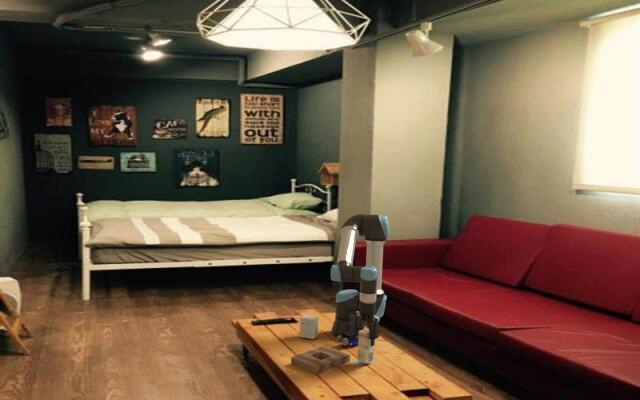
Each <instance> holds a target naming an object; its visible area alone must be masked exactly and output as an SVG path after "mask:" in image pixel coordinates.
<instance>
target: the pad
mask: <svg viewBox="0 0 640 400" xmlns="http://www.w3.org/2000/svg"><path fill="white" fill-rule="evenodd" d="M377 363H378V362H376V361H374V360H373V361H371V362H369V363H363V362H360V361H358V359H357V360H354V361H350V364H352V365H354V366H356V365H357V366H359V365H367V364H369V365H370V364H377Z"/></svg>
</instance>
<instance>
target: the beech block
mask: <svg viewBox="0 0 640 400" xmlns="http://www.w3.org/2000/svg"><path fill="white" fill-rule="evenodd" d="M369 339H370V334H369V328H368V329H367V328H364V329H363V330H360V331H359V336H358V343H357V360H358V361H360V362H363V363H369V362H371V361H374V351H373V352H372V353H368V343H369ZM374 347H375V345H374V346H373V348H374Z"/></svg>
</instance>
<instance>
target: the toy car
mask: <svg viewBox="0 0 640 400" xmlns="http://www.w3.org/2000/svg"><path fill="white" fill-rule="evenodd" d="M354 330H355V329H353V330H349V331H346V332H342V336H338V337H336V339H335V341H336V343H339V344H341V345H340V346H341V347H344V349H346V348H347V349H348V348H349V347H350V346H353V345H358V334H357V333H355V332H354ZM353 336H356V337H353ZM350 337H353V338H350Z"/></svg>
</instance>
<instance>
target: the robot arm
mask: <svg viewBox="0 0 640 400" xmlns="http://www.w3.org/2000/svg"><path fill="white" fill-rule="evenodd" d="M389 226H390V225H389V219H388V216H387V215H383V214H364V213H363V214H362V213H356V214H353V215H352V216H350V217H348V218H347V219H346V220H345V221H344V222H343V224H342V225H341V228H340V233H339V234H340V236H341V238H340V244H339V249H338V254H337V260H336V264H332V265H331V268H330V279H331V281H333V282H334V281H335V282H341V283H342V282H344V283H356V284H357V283H359V284H360V285H359V286H360V287H359V288H360V289H359V291H358V290H356V289H343V290H341V291H338V292H337V293H336V295H335V296H336V297H335V314H334V315H335V316H334V321H333V324H332V326H331V335H332V336H334V337H336V338H337V337H338V336H342V332H346V331H349V330H353V329H355V330H354V332H355V333H357V334H358V336H359V331H360V330H363V329H365V326H366V325H367V327H368V330H369V334H370V339H369V343H368V353H372V352H373V353H374V347H375V341H376V339H379V338H380V337H379V335H380V322H381V318H382V317H383V316H384V313H385V309H386V301H387V297H388V296H387V295H386V294H385V292H384V290H383V289H382V284H383V283H382V280H383V260H384V258H383V257H384V244H385V243H386V242H387V239H390V227H389ZM359 237H363V238H364V239H363V240H364V241H365V242H366V255H365V257H366V261H365V266H357V265H355V266H354V265H353V264H354V263H353V262H354V257H355V250H356V241H357V239H358V238H359ZM354 337H356V336H353V337H350V339H351V338H354ZM373 346H374V347H373Z"/></svg>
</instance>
